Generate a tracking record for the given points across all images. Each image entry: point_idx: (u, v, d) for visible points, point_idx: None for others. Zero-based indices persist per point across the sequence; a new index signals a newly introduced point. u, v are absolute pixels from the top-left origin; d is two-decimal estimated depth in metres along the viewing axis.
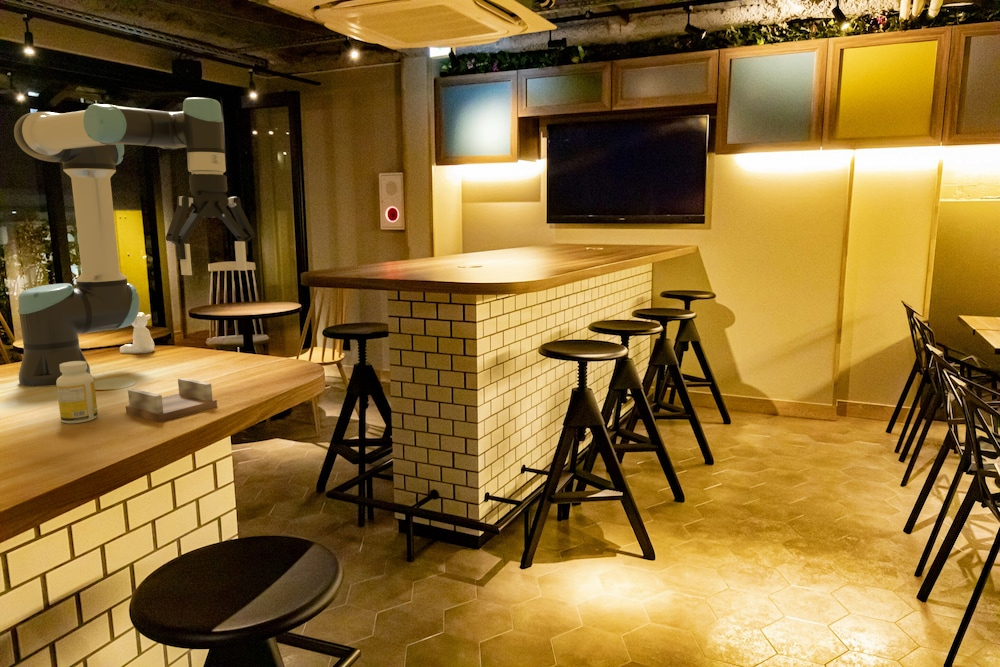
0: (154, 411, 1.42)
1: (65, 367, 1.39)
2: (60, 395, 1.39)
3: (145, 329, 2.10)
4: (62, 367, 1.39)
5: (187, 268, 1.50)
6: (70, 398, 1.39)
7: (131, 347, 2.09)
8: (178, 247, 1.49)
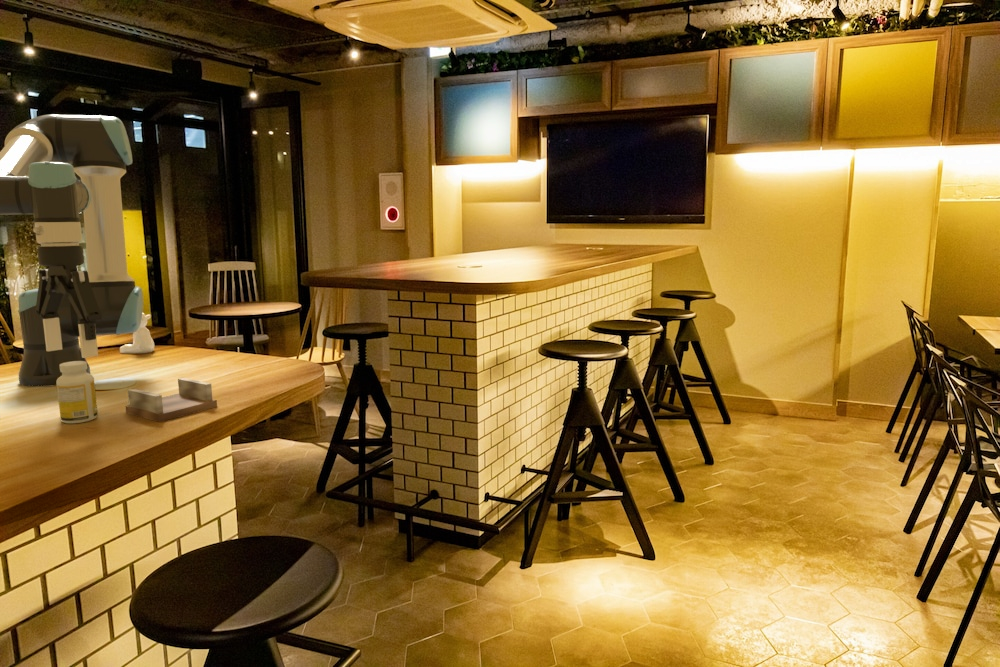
0: (154, 411, 1.42)
1: (65, 367, 1.39)
2: (60, 395, 1.39)
3: (145, 329, 2.10)
4: (62, 367, 1.39)
5: None
6: (70, 398, 1.39)
7: (131, 347, 2.09)
8: None
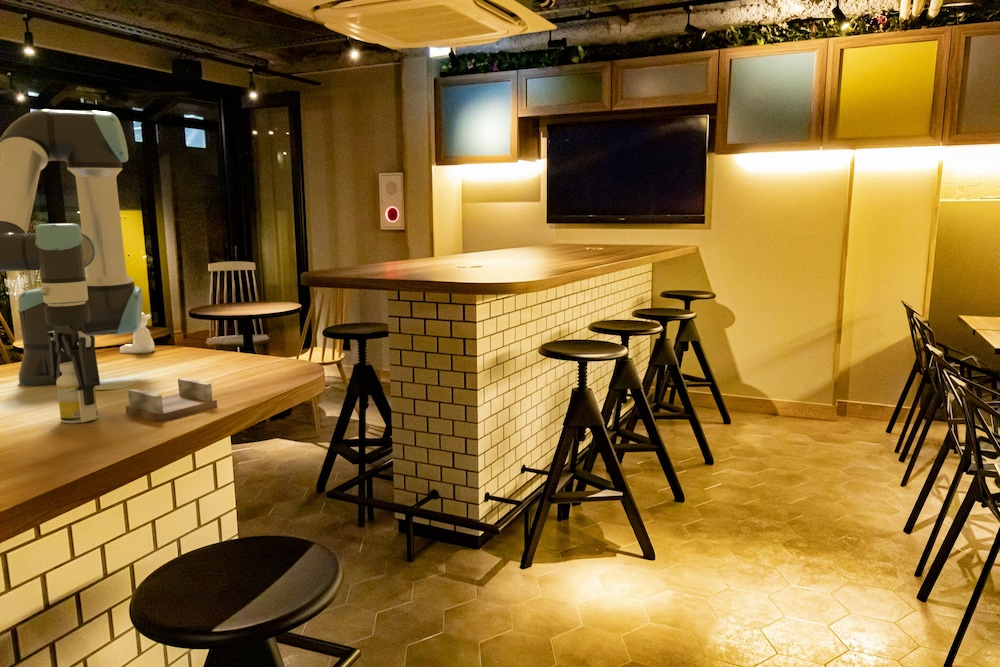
0: (154, 411, 1.42)
1: (65, 367, 1.39)
2: (60, 395, 1.39)
3: (145, 329, 2.10)
4: (62, 367, 1.39)
5: None
6: (70, 398, 1.39)
7: (131, 347, 2.09)
8: None
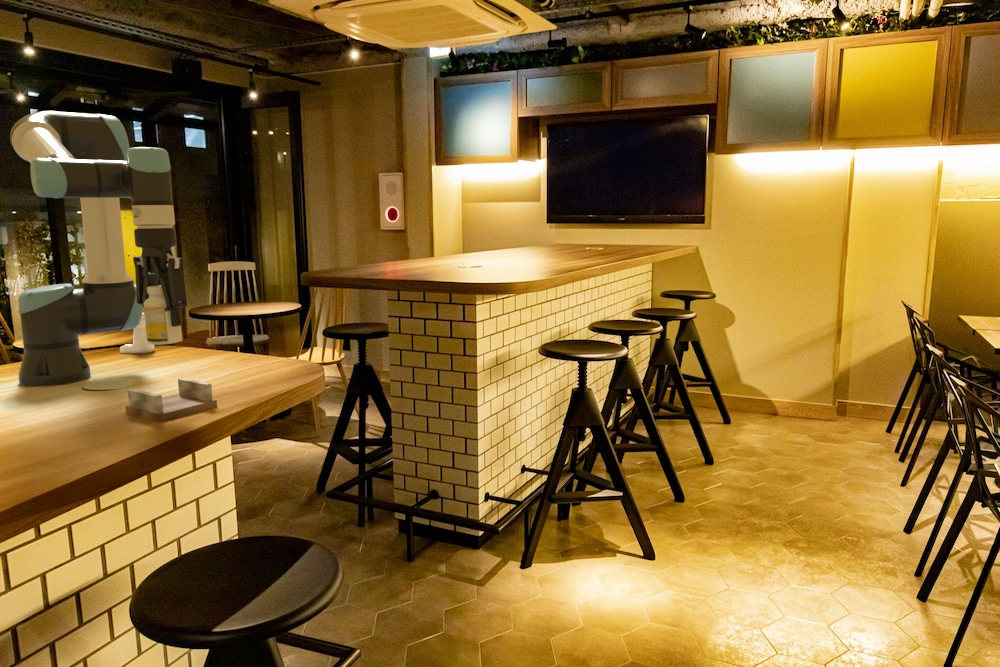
0: (154, 411, 1.42)
1: (153, 289, 1.42)
2: (148, 316, 1.43)
3: (145, 329, 2.10)
4: (150, 289, 1.42)
5: None
6: (158, 319, 1.43)
7: (131, 347, 2.09)
8: None
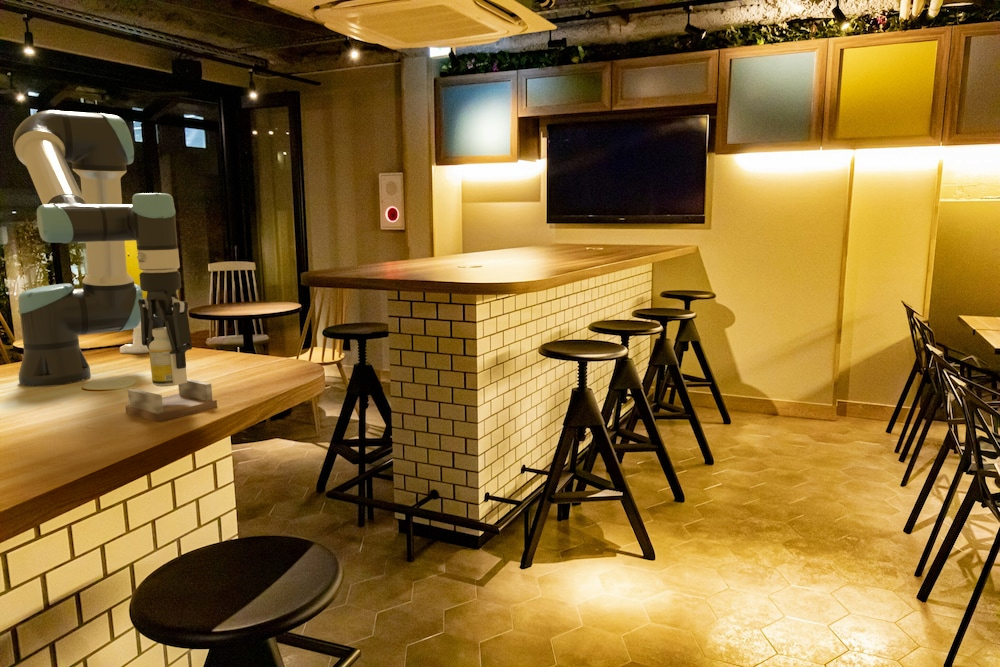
0: (154, 411, 1.42)
1: (158, 332, 1.44)
2: (153, 358, 1.44)
3: None
4: (155, 332, 1.44)
5: None
6: (163, 362, 1.44)
7: (131, 347, 2.09)
8: None
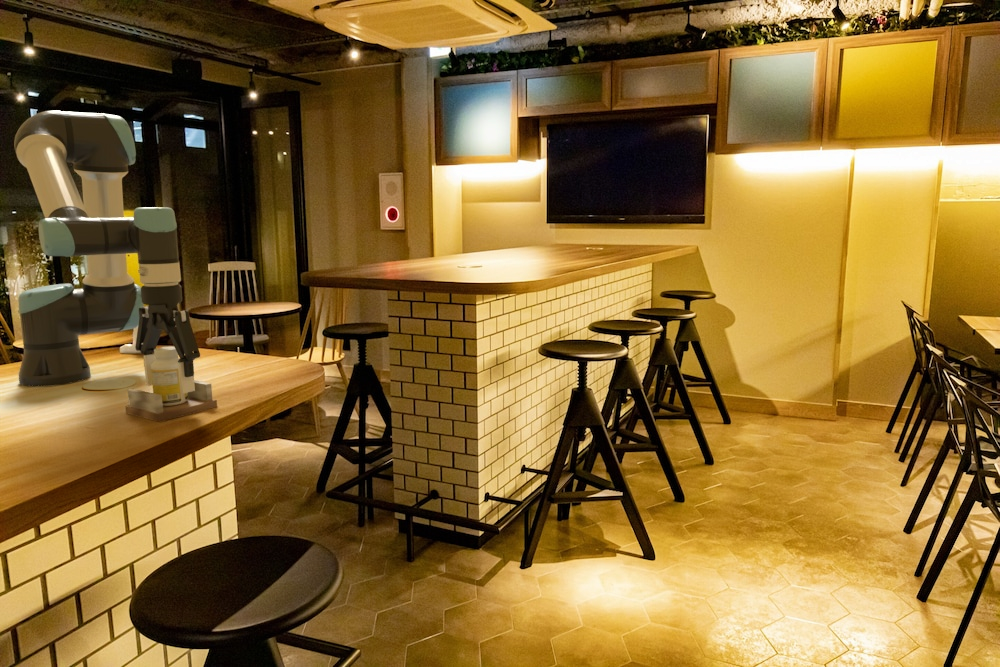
0: (154, 411, 1.42)
1: (160, 352, 1.45)
2: (155, 379, 1.45)
3: None
4: (157, 352, 1.45)
5: None
6: (165, 382, 1.45)
7: (131, 347, 2.09)
8: None
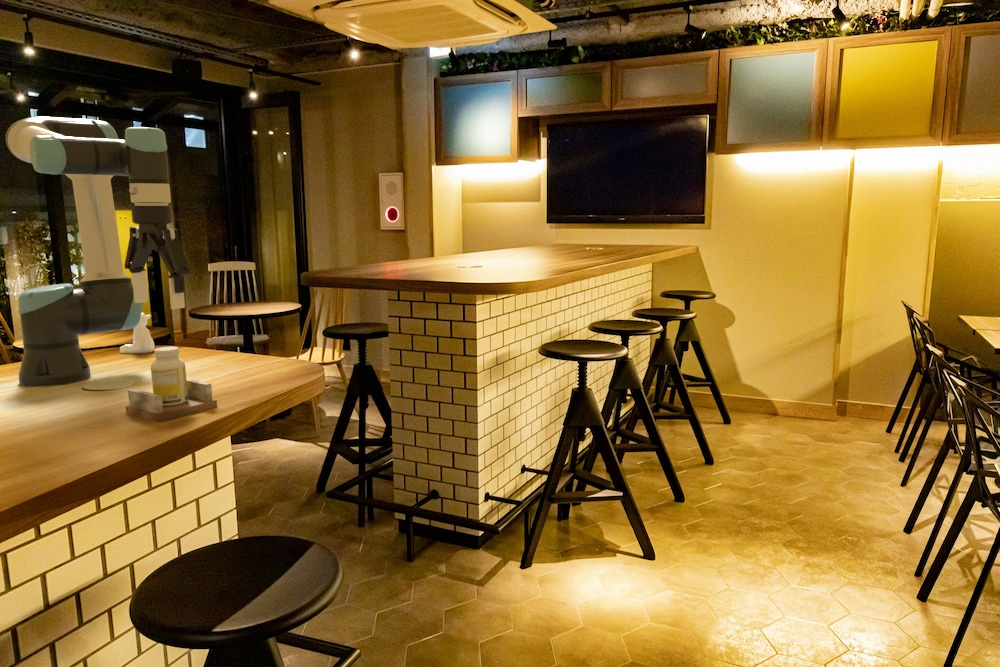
0: (154, 411, 1.42)
1: (160, 352, 1.45)
2: (155, 379, 1.45)
3: (145, 329, 2.10)
4: (157, 352, 1.45)
5: None
6: (165, 382, 1.45)
7: (131, 347, 2.09)
8: None
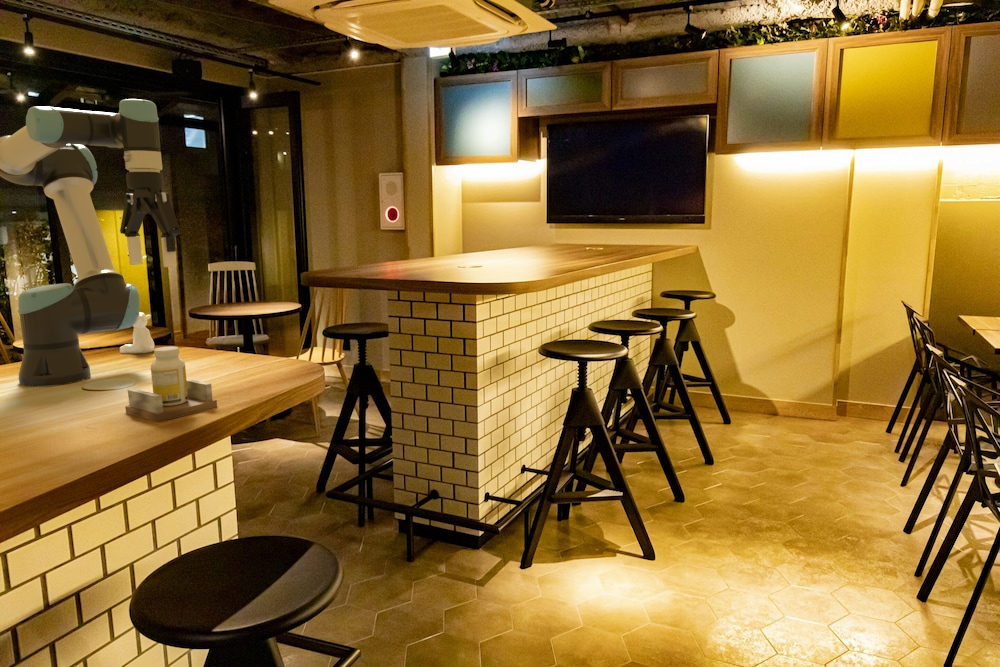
0: (154, 411, 1.42)
1: (160, 352, 1.45)
2: (155, 379, 1.45)
3: (145, 329, 2.10)
4: (157, 352, 1.45)
5: None
6: (165, 382, 1.45)
7: (131, 347, 2.09)
8: None
